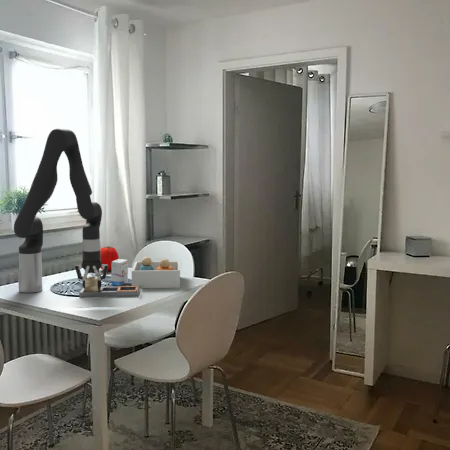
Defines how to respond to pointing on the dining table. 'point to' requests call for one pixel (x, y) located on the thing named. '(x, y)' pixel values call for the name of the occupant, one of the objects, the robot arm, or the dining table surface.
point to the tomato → (108, 256)
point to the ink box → (119, 272)
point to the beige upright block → (91, 284)
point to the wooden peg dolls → (163, 266)
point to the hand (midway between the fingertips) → (92, 288)
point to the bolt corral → (156, 276)
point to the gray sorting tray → (111, 292)
